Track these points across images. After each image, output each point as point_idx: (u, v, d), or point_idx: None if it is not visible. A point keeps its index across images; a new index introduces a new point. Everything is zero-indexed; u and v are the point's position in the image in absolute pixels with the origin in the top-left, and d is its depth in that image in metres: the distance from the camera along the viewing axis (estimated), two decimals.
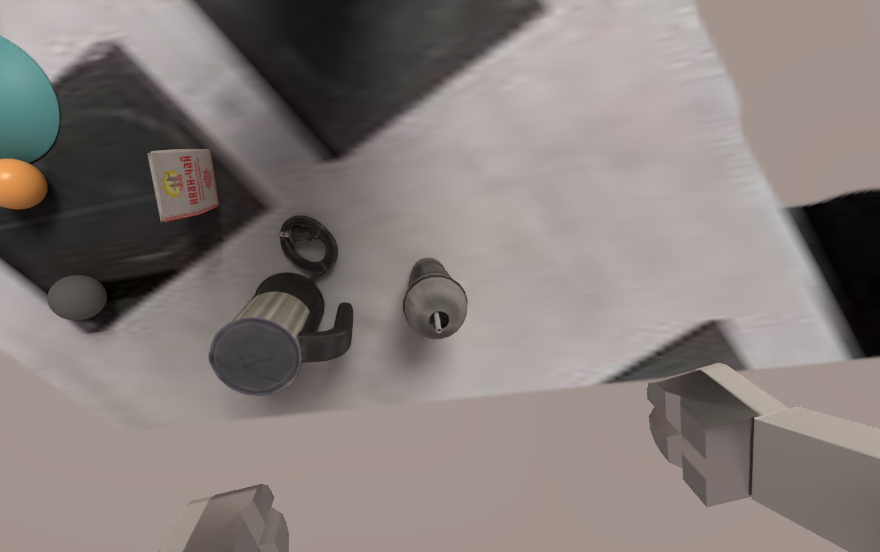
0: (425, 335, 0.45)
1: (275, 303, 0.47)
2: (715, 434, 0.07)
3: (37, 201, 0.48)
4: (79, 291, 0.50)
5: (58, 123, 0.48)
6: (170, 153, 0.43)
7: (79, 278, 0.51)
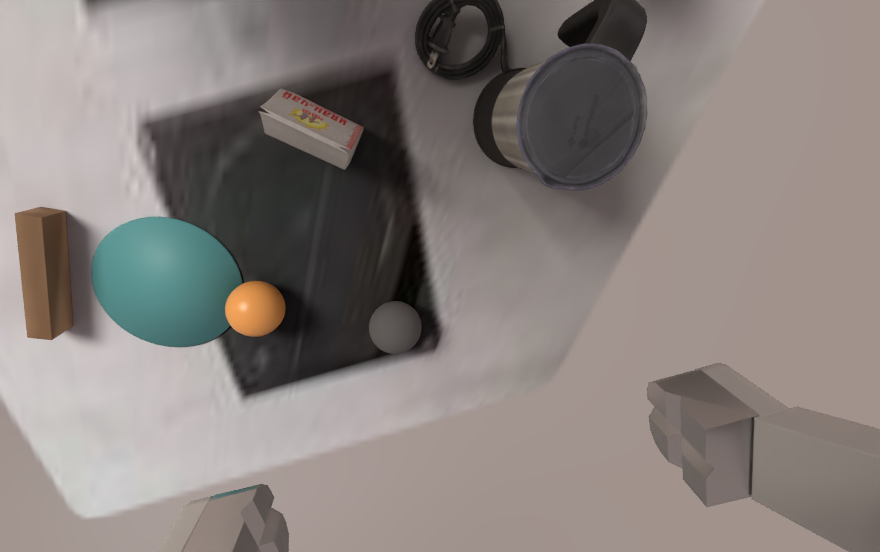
0: None
1: (517, 80, 0.31)
2: (715, 434, 0.07)
3: (281, 299, 0.42)
4: (389, 316, 0.42)
5: (212, 236, 0.42)
6: (272, 98, 0.32)
7: (376, 312, 0.44)
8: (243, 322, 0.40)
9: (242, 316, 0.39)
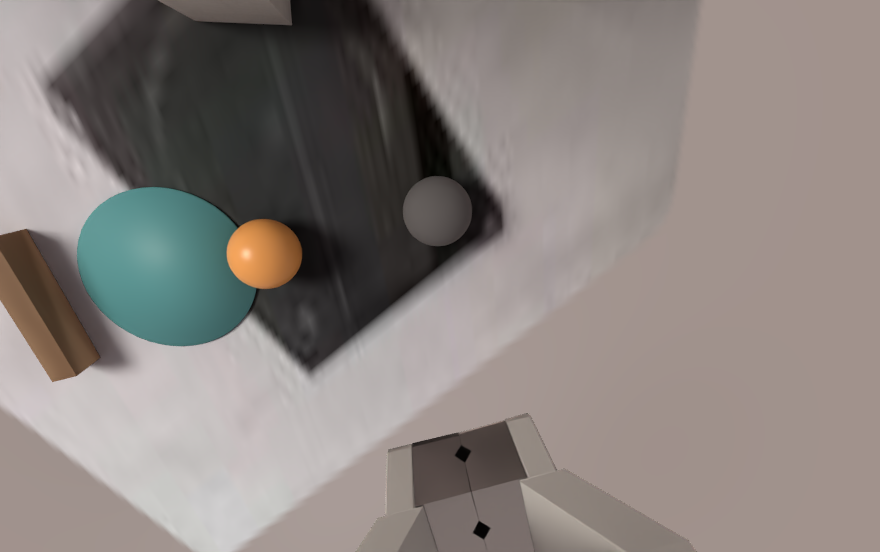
0: None
1: None
2: (484, 496, 0.07)
3: (287, 229, 0.33)
4: (421, 194, 0.31)
5: (184, 192, 0.34)
6: None
7: (405, 200, 0.33)
8: (250, 268, 0.31)
9: (246, 261, 0.31)
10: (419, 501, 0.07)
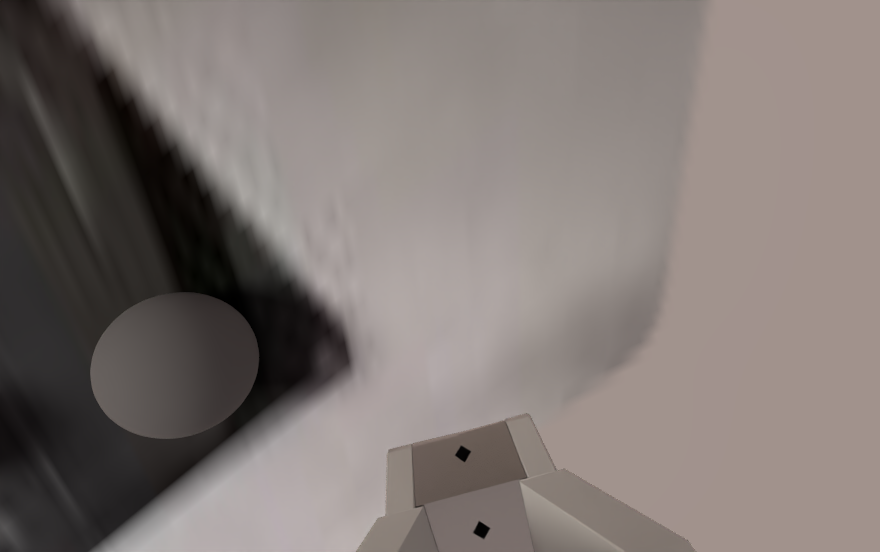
0: None
1: None
2: (483, 496, 0.07)
3: None
4: (105, 349, 0.14)
5: None
6: None
7: None
8: None
9: None
10: (419, 500, 0.07)
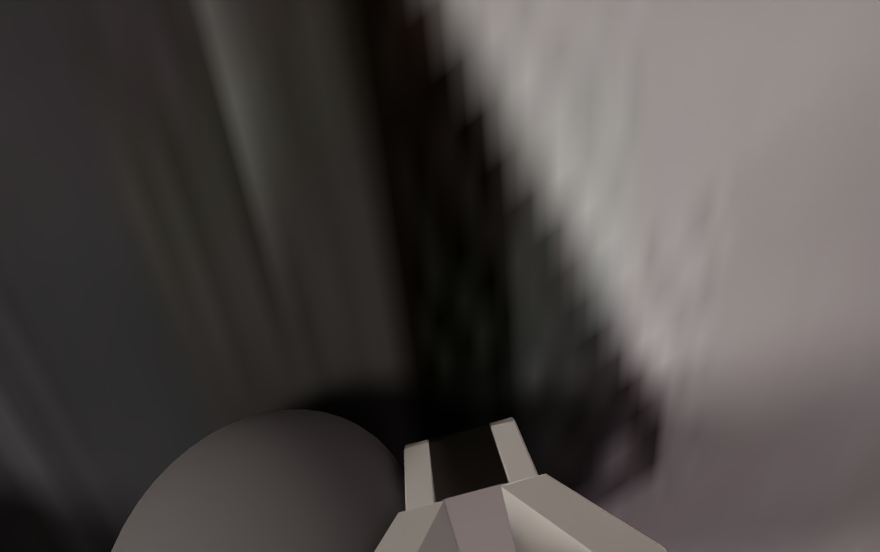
0: None
1: None
2: (465, 501, 0.07)
3: None
4: (121, 532, 0.07)
5: None
6: None
7: None
8: None
9: None
10: (440, 494, 0.07)
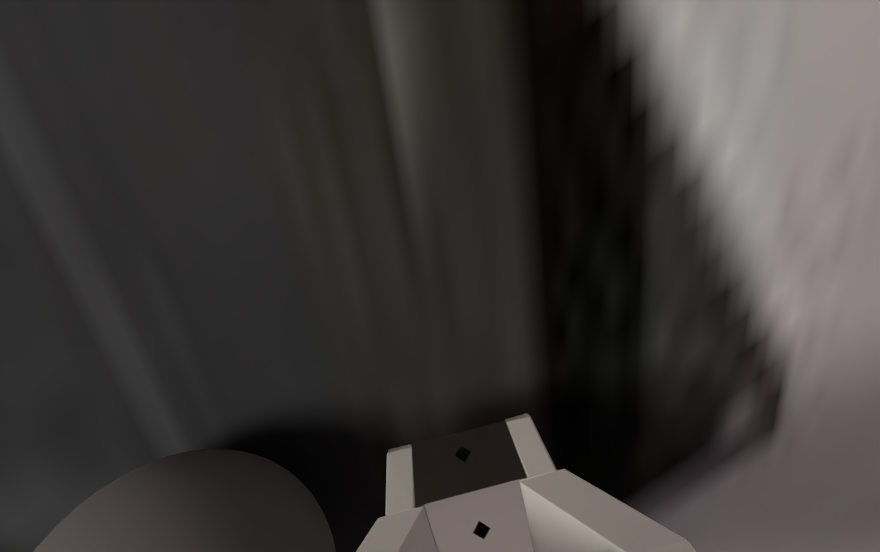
0: None
1: None
2: (483, 496, 0.07)
3: None
4: None
5: None
6: None
7: (252, 460, 0.09)
8: None
9: None
10: (419, 500, 0.07)
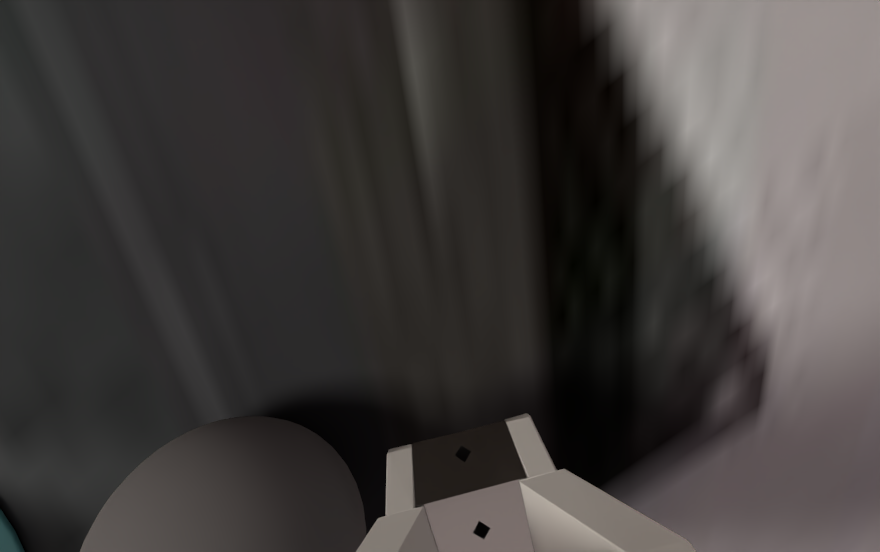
0: None
1: None
2: (483, 496, 0.07)
3: None
4: None
5: None
6: None
7: (291, 424, 0.10)
8: None
9: None
10: (419, 500, 0.07)
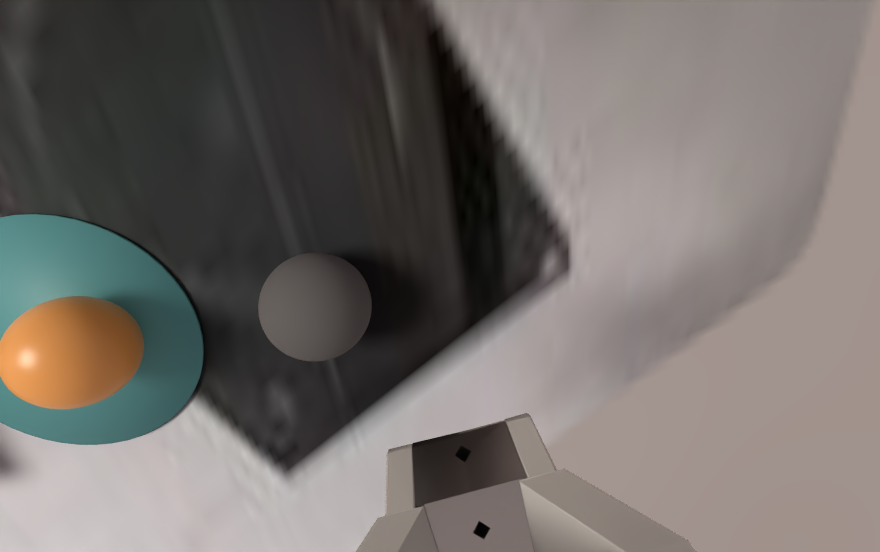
0: None
1: None
2: (483, 496, 0.07)
3: None
4: None
5: (82, 222, 0.22)
6: None
7: None
8: None
9: None
10: (419, 500, 0.07)
